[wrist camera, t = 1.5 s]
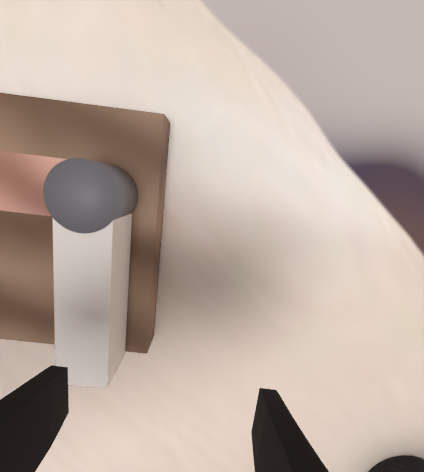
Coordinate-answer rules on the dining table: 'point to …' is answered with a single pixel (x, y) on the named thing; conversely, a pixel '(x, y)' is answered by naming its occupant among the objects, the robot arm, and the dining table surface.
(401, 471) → the travel mug
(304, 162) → the dining table surface
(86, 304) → the white bar with cylinder
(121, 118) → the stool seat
